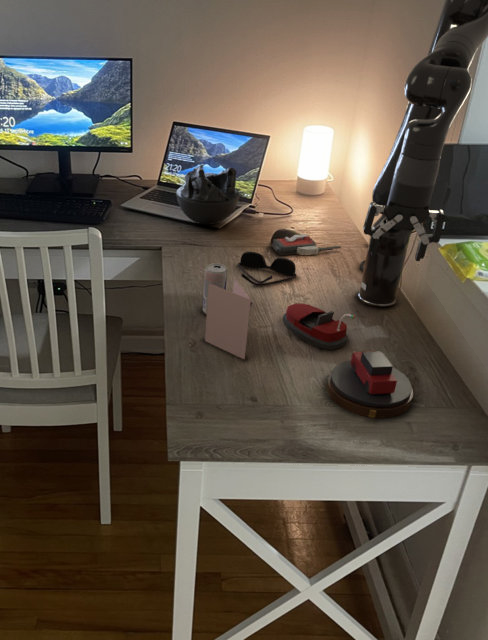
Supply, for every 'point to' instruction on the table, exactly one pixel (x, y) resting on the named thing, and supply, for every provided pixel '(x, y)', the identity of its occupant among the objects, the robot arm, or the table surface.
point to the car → (371, 380)
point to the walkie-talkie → (298, 245)
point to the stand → (366, 409)
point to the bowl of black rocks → (208, 195)
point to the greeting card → (228, 318)
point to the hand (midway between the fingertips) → (395, 256)
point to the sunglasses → (266, 267)
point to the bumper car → (316, 326)
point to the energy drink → (214, 280)
